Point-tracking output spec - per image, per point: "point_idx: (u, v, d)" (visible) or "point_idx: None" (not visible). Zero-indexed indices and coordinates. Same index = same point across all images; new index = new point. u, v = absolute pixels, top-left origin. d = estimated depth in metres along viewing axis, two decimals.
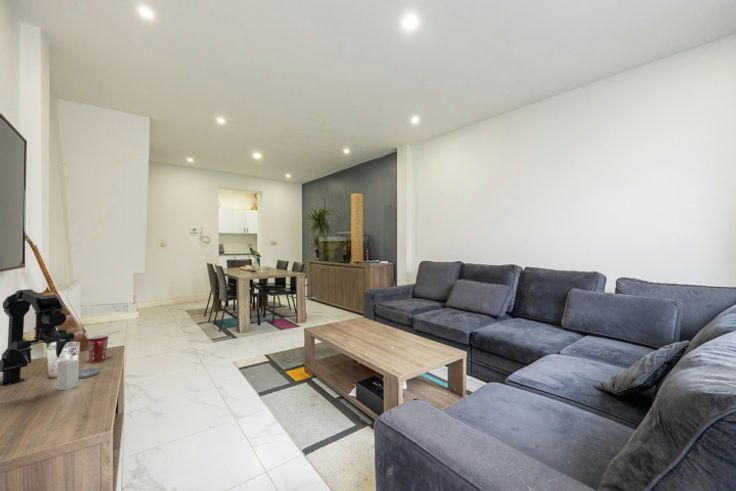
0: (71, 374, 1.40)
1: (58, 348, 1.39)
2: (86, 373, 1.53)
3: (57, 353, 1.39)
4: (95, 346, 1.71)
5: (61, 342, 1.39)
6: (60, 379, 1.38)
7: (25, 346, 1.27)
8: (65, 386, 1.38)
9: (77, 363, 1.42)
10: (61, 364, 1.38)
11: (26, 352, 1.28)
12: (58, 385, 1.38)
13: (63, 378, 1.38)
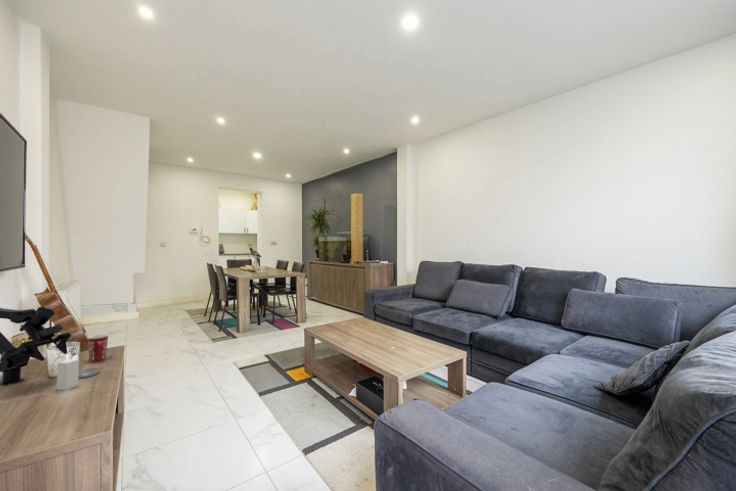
0: (71, 374, 1.40)
1: (62, 347, 1.47)
2: (86, 373, 1.53)
3: (64, 351, 1.46)
4: (95, 346, 1.71)
5: (61, 341, 1.47)
6: (60, 379, 1.38)
7: (30, 343, 1.35)
8: (65, 386, 1.38)
9: (77, 363, 1.42)
10: (61, 364, 1.38)
11: (34, 350, 1.36)
12: (58, 385, 1.38)
13: (63, 378, 1.38)
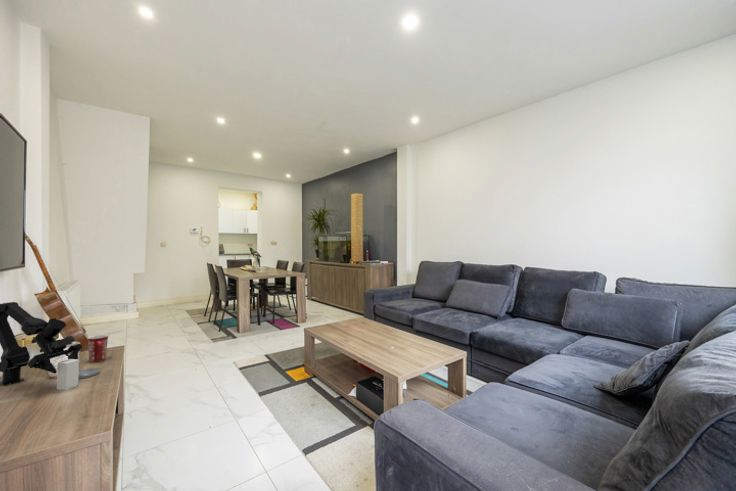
0: (71, 374, 1.40)
1: None
2: (86, 373, 1.53)
3: None
4: (95, 346, 1.71)
5: (73, 352, 1.46)
6: (60, 379, 1.38)
7: (43, 356, 1.34)
8: (65, 386, 1.38)
9: (77, 363, 1.42)
10: (61, 364, 1.38)
11: (47, 362, 1.35)
12: (58, 385, 1.38)
13: (63, 378, 1.38)
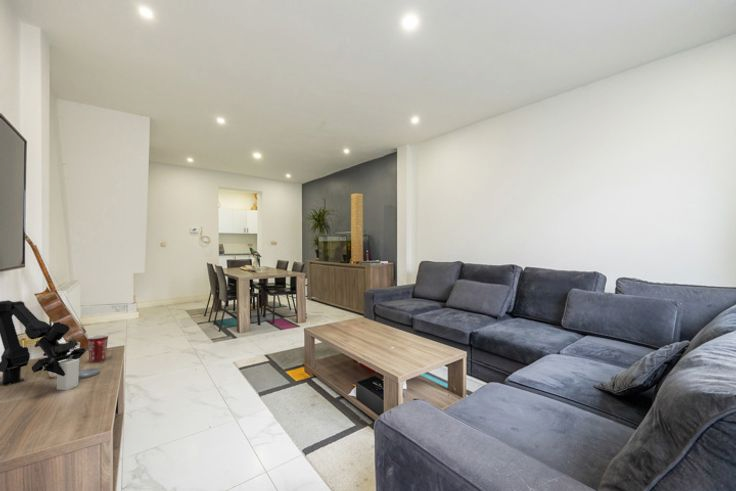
0: (71, 374, 1.40)
1: None
2: (86, 373, 1.53)
3: None
4: (95, 346, 1.71)
5: (72, 357, 1.44)
6: (60, 379, 1.38)
7: (46, 360, 1.34)
8: (65, 386, 1.38)
9: (77, 363, 1.42)
10: (61, 364, 1.38)
11: (55, 365, 1.37)
12: (58, 385, 1.38)
13: (63, 378, 1.38)
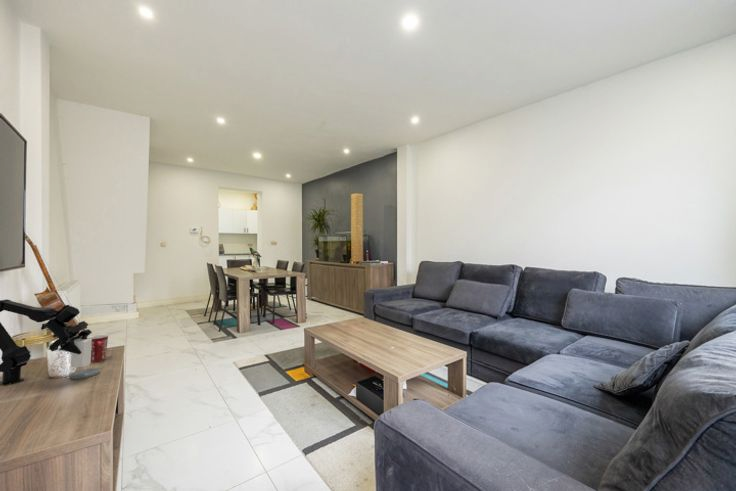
0: (86, 353, 1.49)
1: None
2: (86, 373, 1.53)
3: None
4: (95, 346, 1.71)
5: (82, 338, 1.52)
6: (75, 357, 1.47)
7: (65, 339, 1.42)
8: (81, 363, 1.47)
9: (90, 342, 1.51)
10: (76, 343, 1.47)
11: (72, 344, 1.45)
12: (73, 363, 1.46)
13: (79, 356, 1.47)
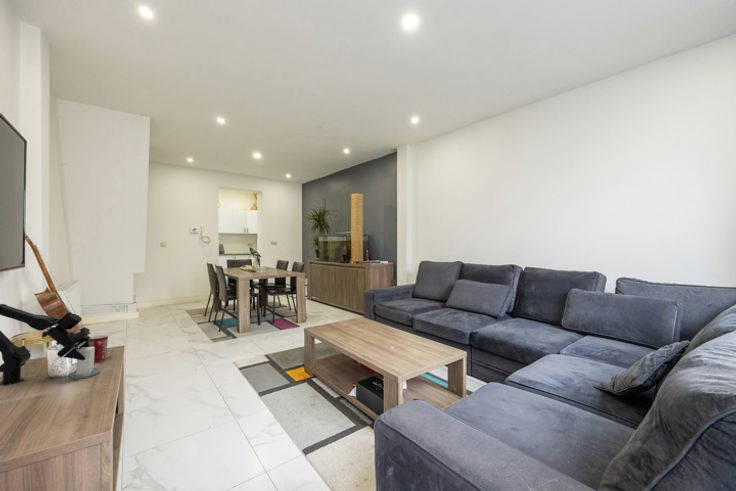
0: (91, 360, 1.55)
1: None
2: None
3: None
4: (95, 346, 1.71)
5: (86, 343, 1.59)
6: (81, 365, 1.52)
7: (73, 345, 1.47)
8: (87, 370, 1.53)
9: (93, 350, 1.57)
10: (82, 351, 1.52)
11: (76, 351, 1.48)
12: (78, 371, 1.52)
13: (85, 363, 1.53)
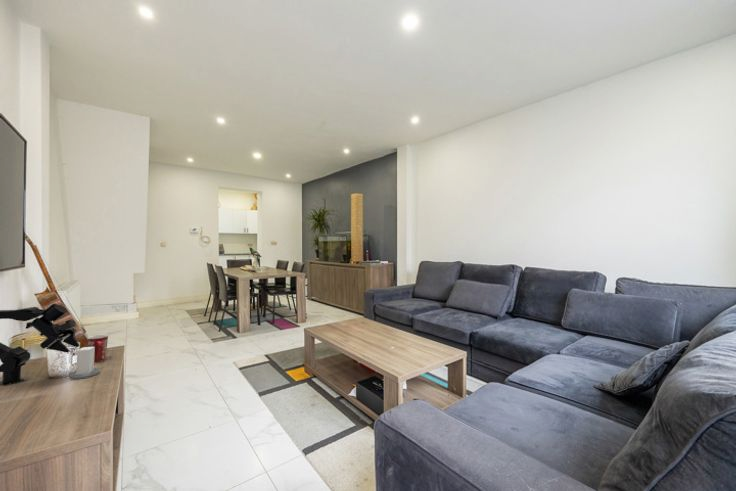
0: (91, 360, 1.55)
1: (72, 341, 1.56)
2: None
3: (75, 344, 1.56)
4: (95, 346, 1.71)
5: (71, 335, 1.56)
6: (81, 365, 1.52)
7: (57, 336, 1.45)
8: (87, 370, 1.53)
9: (93, 350, 1.57)
10: (82, 351, 1.52)
11: (60, 342, 1.46)
12: (78, 371, 1.52)
13: (85, 363, 1.53)
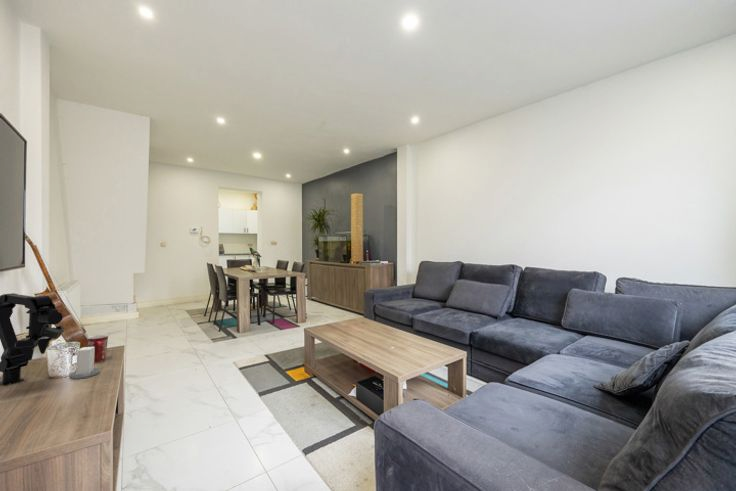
0: (91, 360, 1.55)
1: (43, 345, 1.47)
2: None
3: (42, 350, 1.46)
4: (95, 346, 1.71)
5: (48, 339, 1.48)
6: (81, 365, 1.52)
7: (36, 342, 1.37)
8: (87, 370, 1.53)
9: (93, 350, 1.57)
10: (82, 351, 1.52)
11: (32, 349, 1.37)
12: (78, 371, 1.52)
13: (85, 363, 1.53)
